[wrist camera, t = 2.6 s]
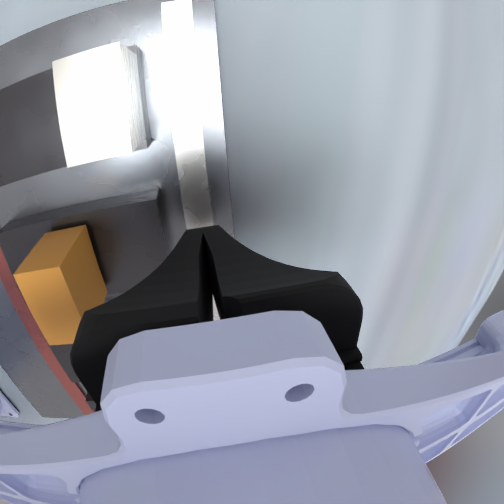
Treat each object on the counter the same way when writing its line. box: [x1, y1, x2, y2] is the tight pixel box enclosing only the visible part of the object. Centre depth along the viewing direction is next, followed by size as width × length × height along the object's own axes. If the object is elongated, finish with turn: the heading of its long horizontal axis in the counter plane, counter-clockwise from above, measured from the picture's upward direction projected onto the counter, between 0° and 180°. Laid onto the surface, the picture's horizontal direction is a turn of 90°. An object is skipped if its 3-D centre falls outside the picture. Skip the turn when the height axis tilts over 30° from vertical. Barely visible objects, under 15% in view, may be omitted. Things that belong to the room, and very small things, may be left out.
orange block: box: [13, 225, 107, 345], centre depth 10 cm, size 2×3×3 cm, turn 3°
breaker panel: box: [0, 0, 235, 418], centre depth 13 cm, size 18×25×6 cm
